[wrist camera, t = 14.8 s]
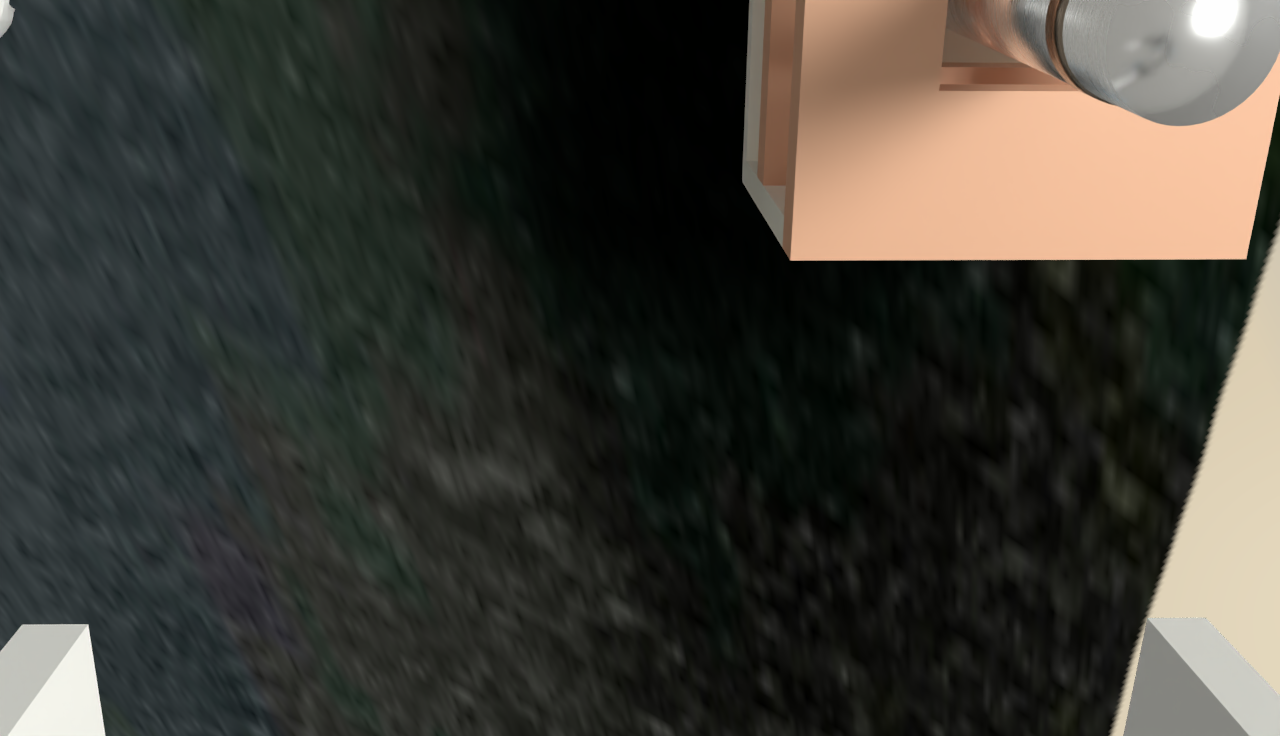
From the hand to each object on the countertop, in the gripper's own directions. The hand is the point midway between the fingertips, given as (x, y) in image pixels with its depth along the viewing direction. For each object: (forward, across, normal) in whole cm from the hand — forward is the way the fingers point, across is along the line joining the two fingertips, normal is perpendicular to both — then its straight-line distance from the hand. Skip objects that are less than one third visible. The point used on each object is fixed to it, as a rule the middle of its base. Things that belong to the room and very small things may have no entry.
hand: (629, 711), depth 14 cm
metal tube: (+31, -13, -9) cm, 35 cm away
